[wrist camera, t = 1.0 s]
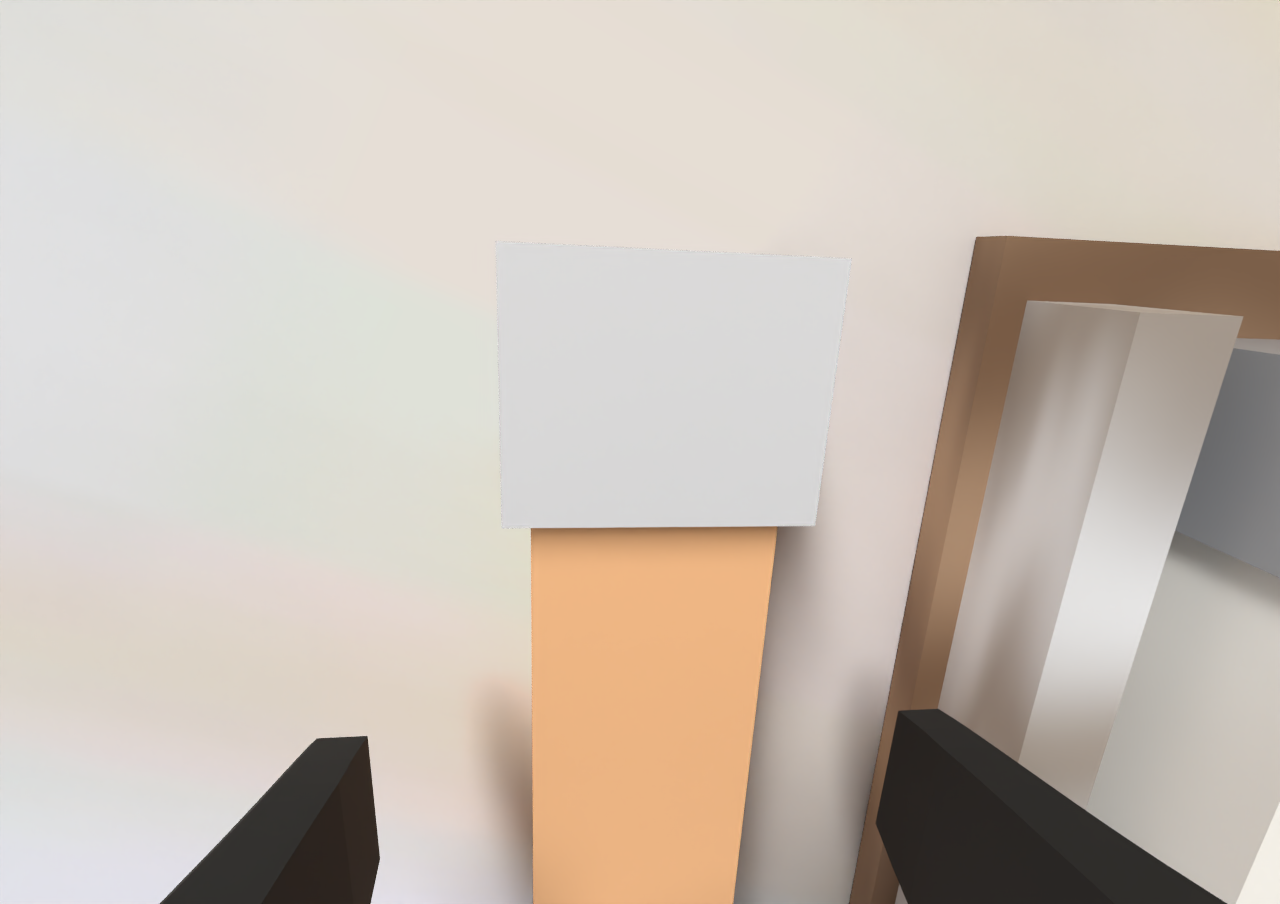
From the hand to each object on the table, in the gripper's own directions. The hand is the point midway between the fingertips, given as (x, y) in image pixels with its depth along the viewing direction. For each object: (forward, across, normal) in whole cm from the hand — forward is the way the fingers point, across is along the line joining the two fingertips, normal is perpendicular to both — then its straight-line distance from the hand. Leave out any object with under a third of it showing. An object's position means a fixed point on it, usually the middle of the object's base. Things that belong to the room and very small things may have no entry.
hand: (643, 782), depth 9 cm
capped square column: (+4, 0, 0) cm, 4 cm away
